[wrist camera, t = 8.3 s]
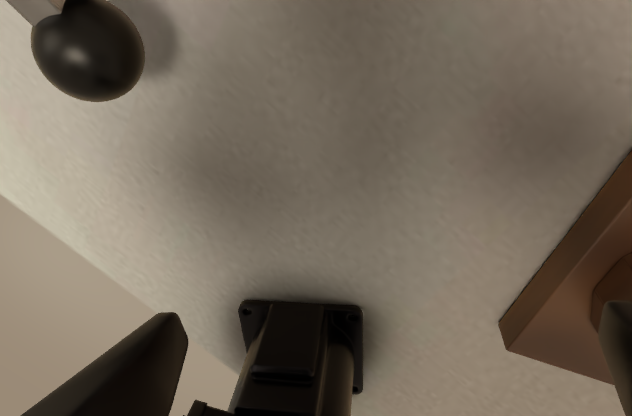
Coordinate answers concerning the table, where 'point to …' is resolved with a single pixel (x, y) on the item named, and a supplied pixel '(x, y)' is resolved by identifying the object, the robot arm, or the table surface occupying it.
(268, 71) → the table surface
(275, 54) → the table surface
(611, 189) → the button block
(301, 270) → the table surface
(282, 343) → the robot arm
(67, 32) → the switch lever
